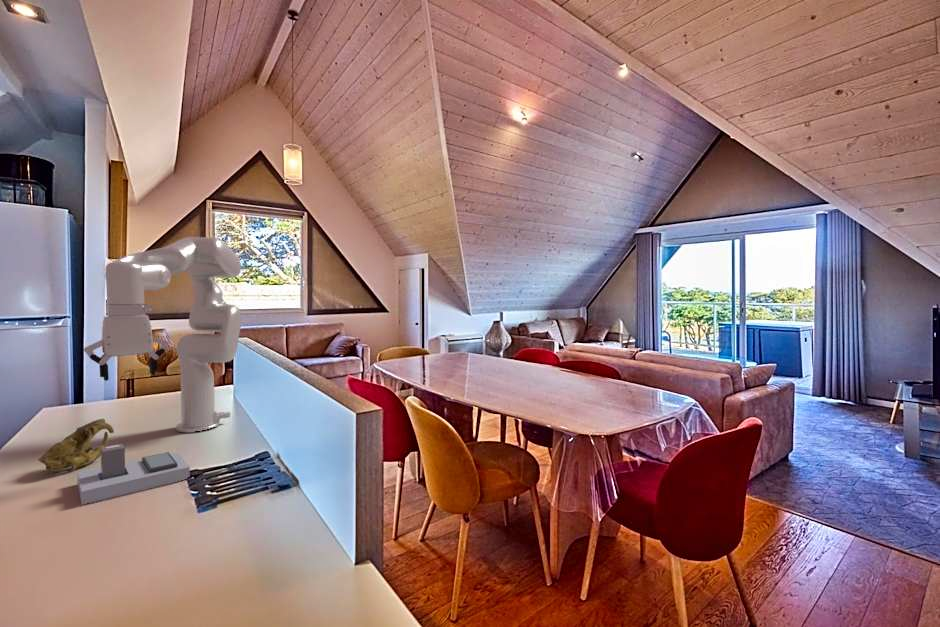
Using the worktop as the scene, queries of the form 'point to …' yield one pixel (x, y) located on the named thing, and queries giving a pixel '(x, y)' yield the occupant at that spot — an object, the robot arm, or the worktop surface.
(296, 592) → the worktop surface
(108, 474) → the block
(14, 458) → the worktop surface
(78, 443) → the animal skull
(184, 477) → the dock board
